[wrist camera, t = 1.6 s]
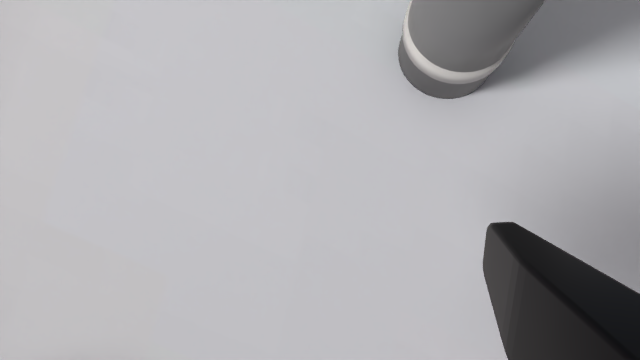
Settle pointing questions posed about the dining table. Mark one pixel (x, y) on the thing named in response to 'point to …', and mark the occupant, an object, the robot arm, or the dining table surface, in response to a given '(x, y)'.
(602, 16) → the dining table surface
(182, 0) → the dining table surface
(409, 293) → the dining table surface
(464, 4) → the grey tall cylinder
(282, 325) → the dining table surface
